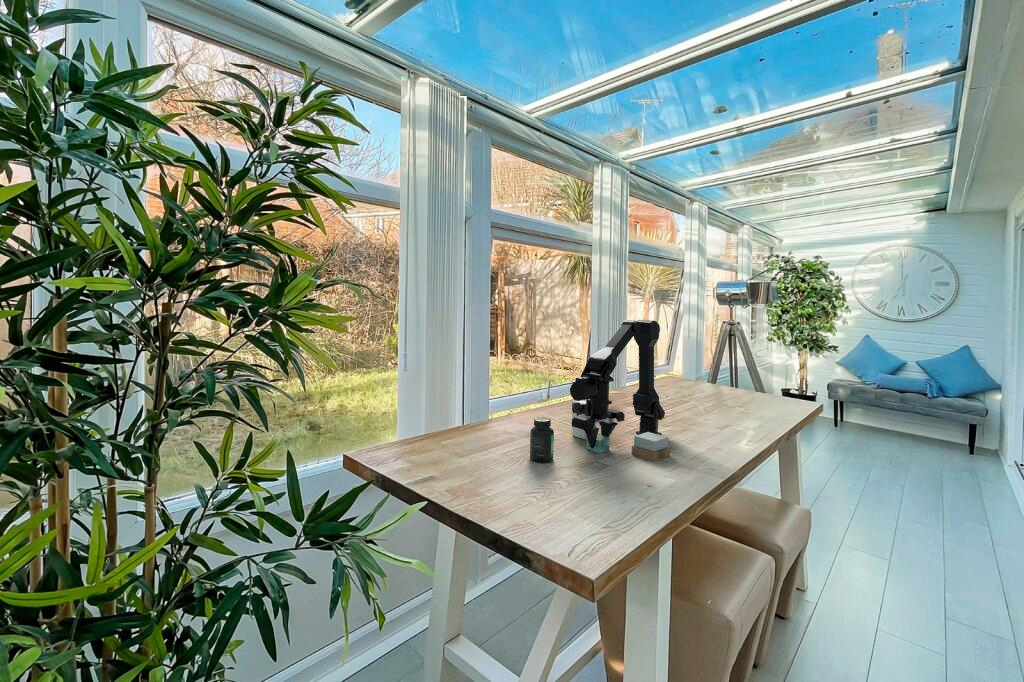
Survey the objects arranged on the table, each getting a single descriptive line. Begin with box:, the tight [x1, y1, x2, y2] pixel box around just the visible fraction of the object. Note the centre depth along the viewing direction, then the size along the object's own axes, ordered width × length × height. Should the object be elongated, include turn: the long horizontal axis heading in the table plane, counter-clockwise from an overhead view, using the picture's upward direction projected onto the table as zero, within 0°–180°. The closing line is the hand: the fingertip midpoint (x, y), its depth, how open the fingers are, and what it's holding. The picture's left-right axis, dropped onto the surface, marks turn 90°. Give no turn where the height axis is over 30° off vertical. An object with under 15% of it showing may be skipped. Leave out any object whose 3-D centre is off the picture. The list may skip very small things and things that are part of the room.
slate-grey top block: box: [633, 432, 669, 452], centre depth 138 cm, size 7×7×3 cm
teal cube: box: [585, 433, 611, 454], centre depth 142 cm, size 5×5×4 cm
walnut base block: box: [631, 444, 671, 463], centre depth 138 cm, size 8×8×3 cm
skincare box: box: [571, 400, 590, 440], centre depth 155 cm, size 6×4×12 cm
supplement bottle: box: [529, 416, 555, 464], centre depth 132 cm, size 7×7×12 cm
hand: (597, 446), depth 142 cm, fingers closed on teal cube, 5 cm apart
